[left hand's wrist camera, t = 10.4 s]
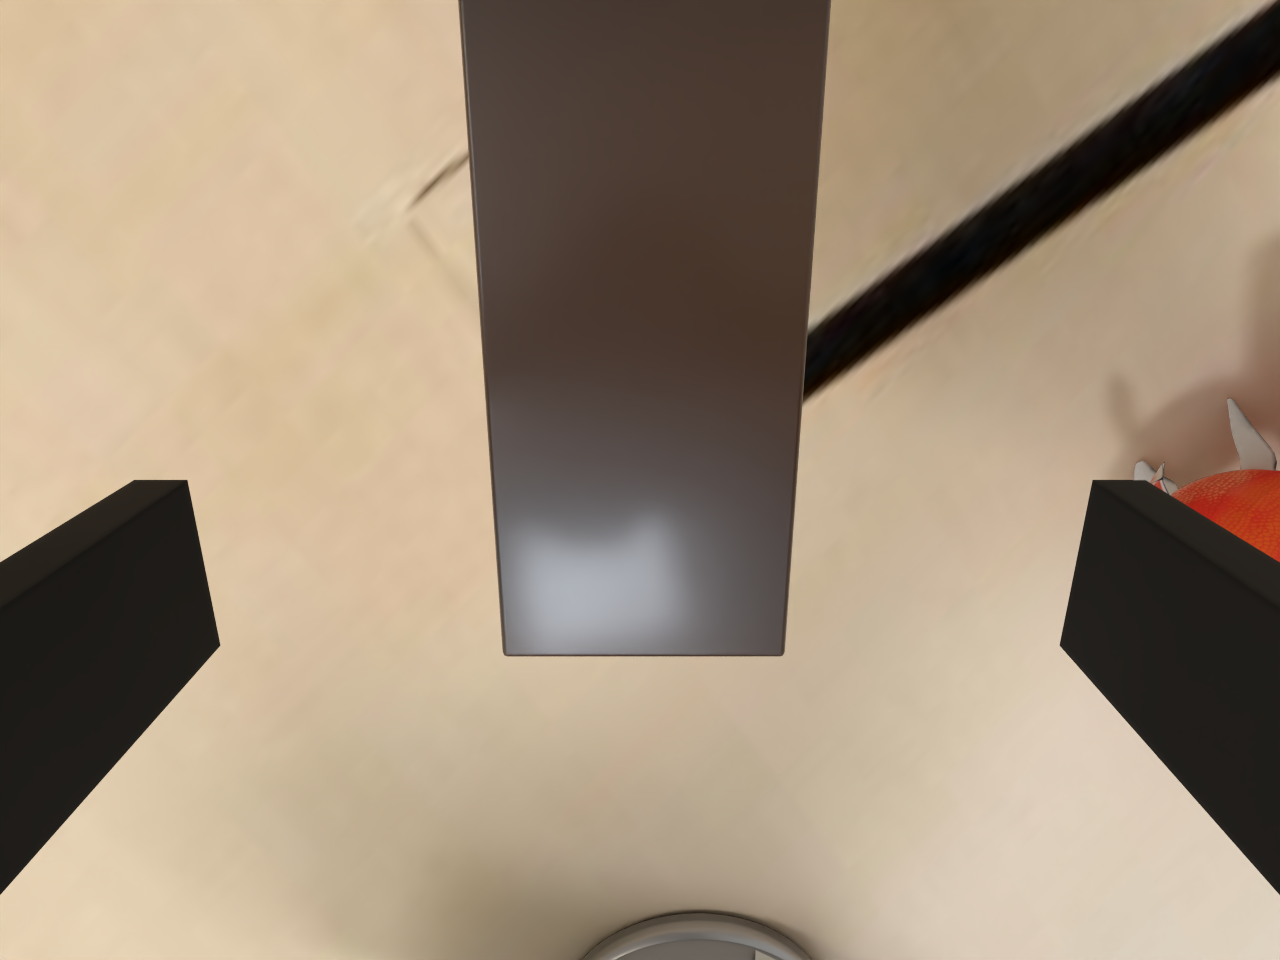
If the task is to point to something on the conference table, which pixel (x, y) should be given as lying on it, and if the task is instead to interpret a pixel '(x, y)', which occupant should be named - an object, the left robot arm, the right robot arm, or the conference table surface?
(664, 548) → the walnut beam
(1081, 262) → the conference table surface
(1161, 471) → the fish
